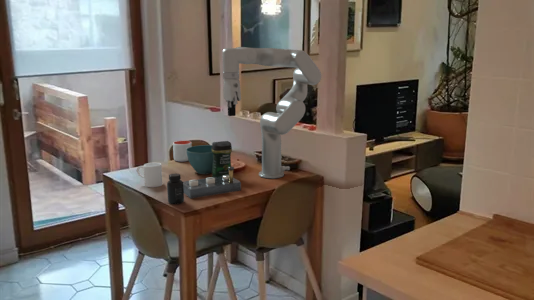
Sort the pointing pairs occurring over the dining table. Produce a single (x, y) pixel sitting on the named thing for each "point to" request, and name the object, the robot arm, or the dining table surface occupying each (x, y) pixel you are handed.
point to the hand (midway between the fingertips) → (231, 115)
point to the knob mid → (210, 180)
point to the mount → (211, 187)
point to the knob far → (193, 183)
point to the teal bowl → (201, 158)
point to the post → (230, 174)
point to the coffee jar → (221, 158)
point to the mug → (151, 174)
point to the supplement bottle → (175, 189)
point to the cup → (181, 150)
